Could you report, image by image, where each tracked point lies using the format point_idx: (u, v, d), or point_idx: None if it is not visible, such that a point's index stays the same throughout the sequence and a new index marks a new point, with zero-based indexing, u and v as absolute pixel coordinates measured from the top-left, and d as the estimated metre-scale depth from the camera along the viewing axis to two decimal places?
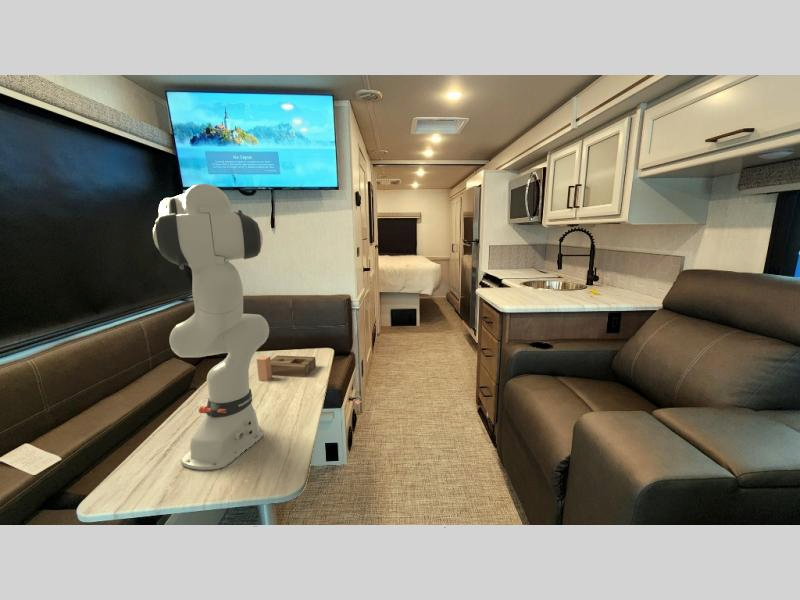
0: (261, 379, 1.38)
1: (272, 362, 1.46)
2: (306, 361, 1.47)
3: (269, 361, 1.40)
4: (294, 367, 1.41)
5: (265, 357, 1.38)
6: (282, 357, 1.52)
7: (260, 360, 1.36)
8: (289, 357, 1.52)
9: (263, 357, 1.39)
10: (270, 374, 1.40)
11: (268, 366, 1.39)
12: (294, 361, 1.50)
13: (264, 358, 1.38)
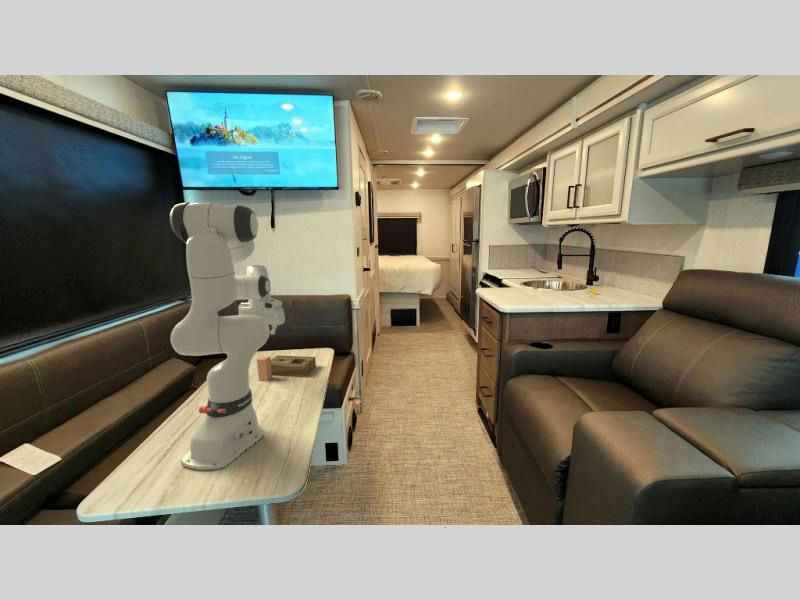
0: (261, 379, 1.38)
1: (272, 362, 1.46)
2: (306, 361, 1.47)
3: (269, 361, 1.40)
4: (294, 367, 1.41)
5: (265, 357, 1.38)
6: (282, 357, 1.52)
7: (260, 360, 1.36)
8: (289, 357, 1.52)
9: (263, 357, 1.39)
10: (270, 374, 1.40)
11: (268, 366, 1.39)
12: (294, 361, 1.50)
13: (264, 358, 1.38)
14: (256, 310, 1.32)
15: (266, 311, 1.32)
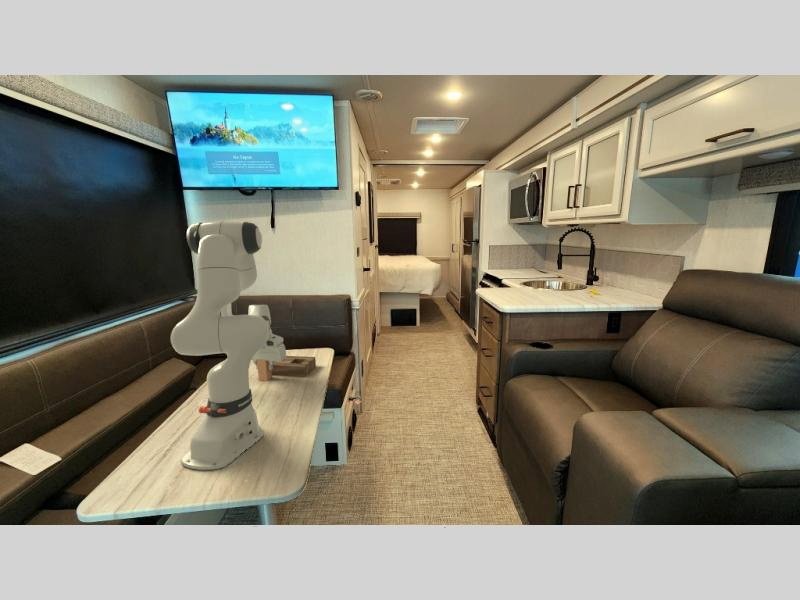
0: (261, 379, 1.38)
1: None
2: (306, 361, 1.47)
3: None
4: (294, 367, 1.41)
5: None
6: None
7: (260, 360, 1.36)
8: (289, 357, 1.52)
9: None
10: (270, 374, 1.40)
11: None
12: (294, 361, 1.50)
13: None
14: None
15: (268, 348, 1.35)
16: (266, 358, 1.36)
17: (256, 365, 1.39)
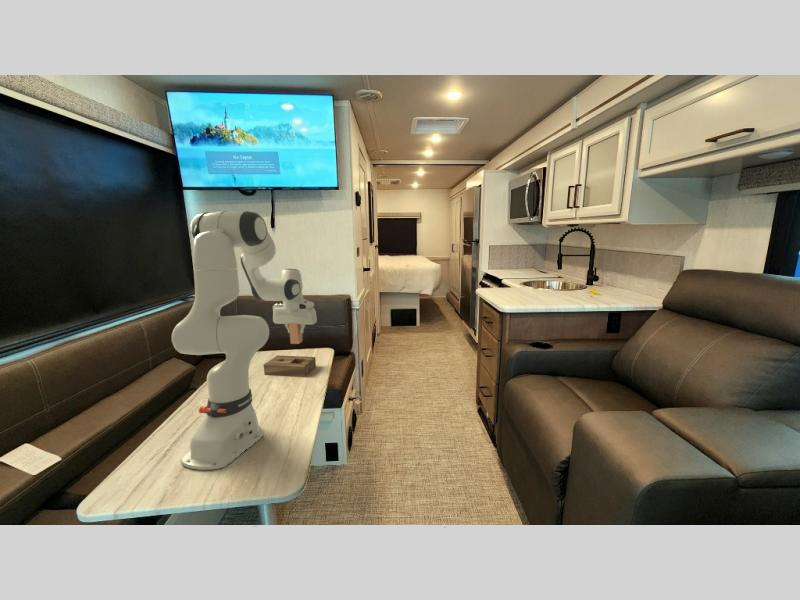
0: (293, 342, 1.44)
1: (272, 362, 1.46)
2: (306, 361, 1.47)
3: (300, 325, 1.45)
4: (294, 367, 1.41)
5: None
6: (282, 357, 1.52)
7: (292, 323, 1.42)
8: (289, 357, 1.52)
9: None
10: (301, 338, 1.46)
11: None
12: (294, 361, 1.50)
13: None
14: (290, 311, 1.40)
15: (300, 312, 1.40)
16: (298, 321, 1.42)
17: (288, 329, 1.44)
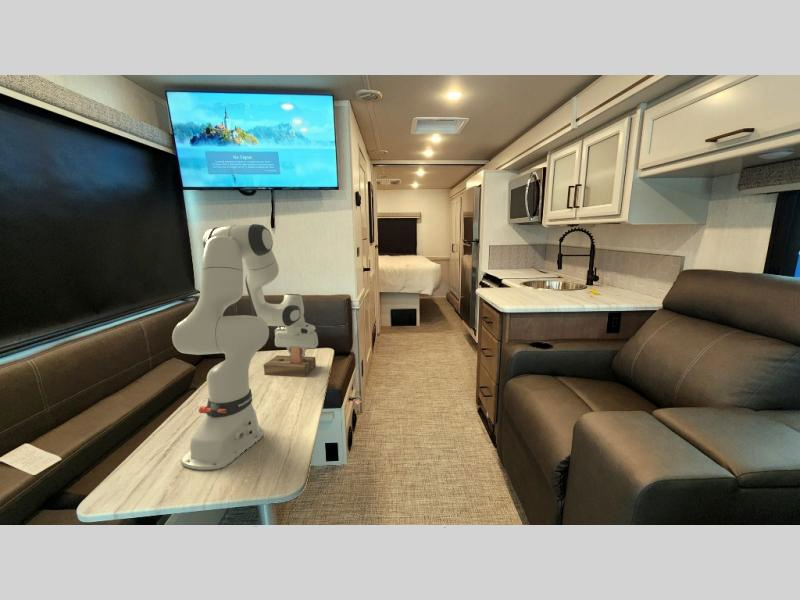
0: None
1: (272, 362, 1.46)
2: (306, 361, 1.47)
3: None
4: (294, 367, 1.41)
5: None
6: (282, 357, 1.52)
7: (294, 347, 1.44)
8: (289, 357, 1.52)
9: None
10: (302, 360, 1.48)
11: None
12: None
13: None
14: (292, 335, 1.42)
15: (301, 336, 1.42)
16: (300, 345, 1.44)
17: (289, 352, 1.46)
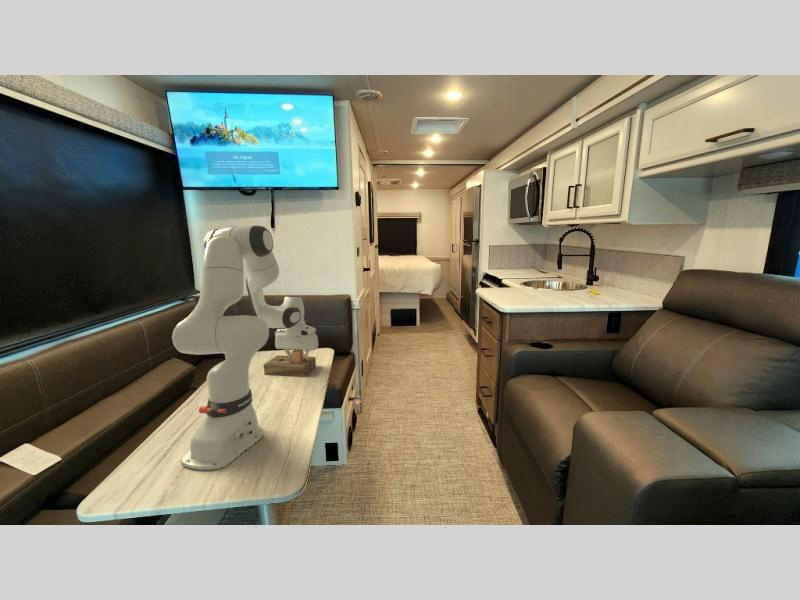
0: None
1: (272, 362, 1.46)
2: (306, 361, 1.47)
3: (302, 354, 1.48)
4: (294, 367, 1.41)
5: (299, 350, 1.46)
6: (282, 357, 1.52)
7: (295, 352, 1.45)
8: None
9: (297, 350, 1.47)
10: None
11: (301, 358, 1.47)
12: None
13: (298, 351, 1.46)
14: (292, 337, 1.42)
15: (302, 338, 1.42)
16: (300, 347, 1.44)
17: (287, 354, 1.46)
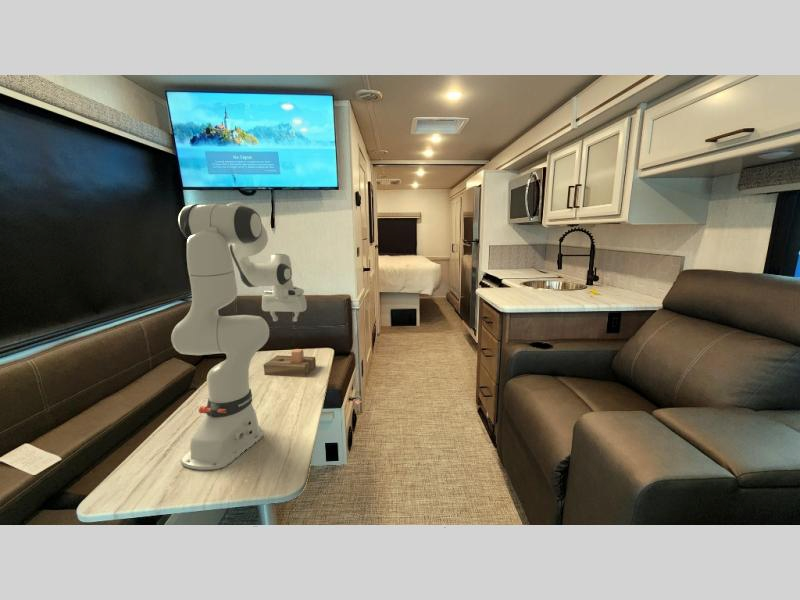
0: None
1: (272, 362, 1.46)
2: (306, 361, 1.47)
3: (302, 354, 1.48)
4: (294, 367, 1.41)
5: (299, 350, 1.46)
6: (282, 357, 1.52)
7: (295, 352, 1.45)
8: (289, 357, 1.52)
9: (297, 350, 1.47)
10: None
11: (301, 358, 1.47)
12: None
13: (298, 351, 1.46)
14: (279, 297, 1.36)
15: (289, 298, 1.36)
16: (287, 309, 1.38)
17: (273, 316, 1.40)
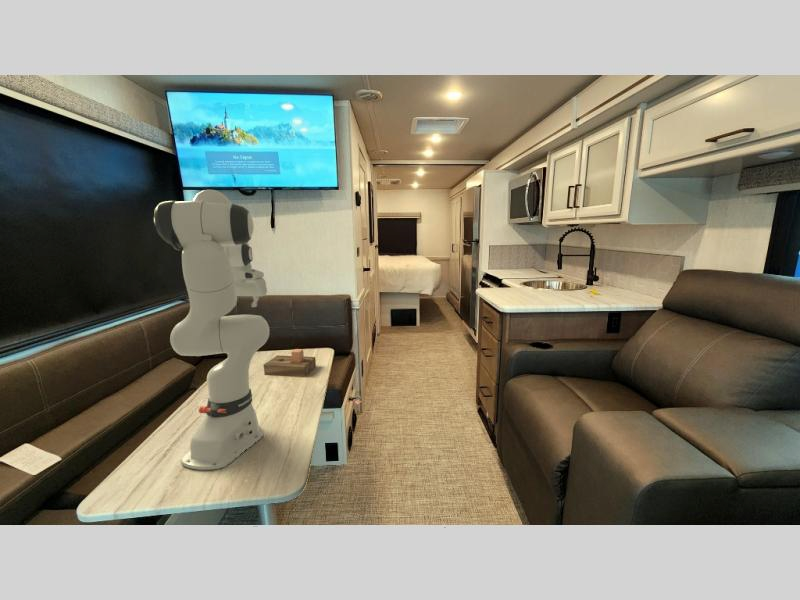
0: None
1: (272, 362, 1.46)
2: (306, 361, 1.47)
3: (302, 354, 1.48)
4: (294, 367, 1.41)
5: (299, 350, 1.46)
6: (282, 357, 1.52)
7: (295, 352, 1.45)
8: (289, 357, 1.52)
9: (297, 350, 1.47)
10: None
11: (301, 358, 1.47)
12: None
13: (298, 351, 1.46)
14: (236, 281, 1.26)
15: (247, 282, 1.26)
16: (245, 293, 1.27)
17: None
